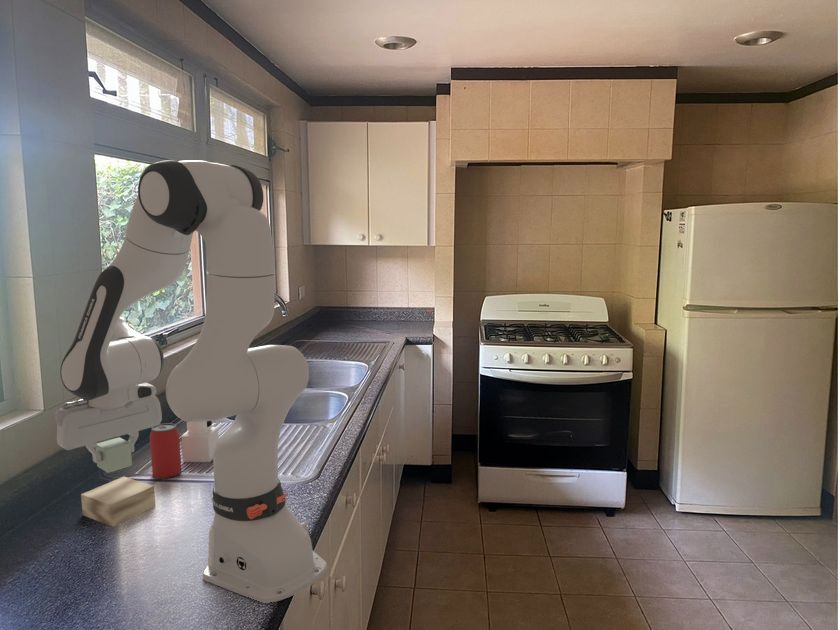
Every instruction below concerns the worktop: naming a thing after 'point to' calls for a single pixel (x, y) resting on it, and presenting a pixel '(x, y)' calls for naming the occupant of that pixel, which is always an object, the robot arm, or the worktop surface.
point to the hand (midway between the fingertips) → (114, 456)
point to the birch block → (118, 501)
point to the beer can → (165, 451)
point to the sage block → (114, 454)
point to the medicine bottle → (199, 441)
